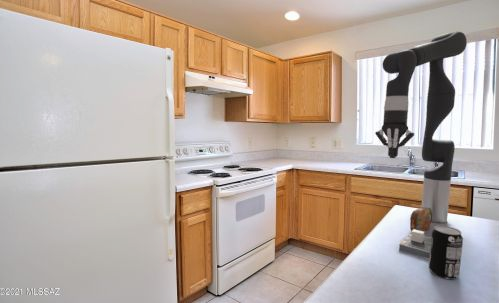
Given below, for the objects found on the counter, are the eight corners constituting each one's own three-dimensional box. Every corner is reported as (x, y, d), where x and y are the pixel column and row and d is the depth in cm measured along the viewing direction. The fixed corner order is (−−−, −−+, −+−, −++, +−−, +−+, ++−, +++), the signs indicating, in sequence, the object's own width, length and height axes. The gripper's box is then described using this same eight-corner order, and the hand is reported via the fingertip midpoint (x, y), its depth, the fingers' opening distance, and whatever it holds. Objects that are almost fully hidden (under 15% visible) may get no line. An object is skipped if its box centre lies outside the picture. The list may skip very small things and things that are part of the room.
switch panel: (409, 238, 95) (410, 232, 95) (452, 249, 87) (453, 242, 87) (398, 250, 86) (399, 243, 86) (445, 263, 78) (446, 256, 77)
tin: (417, 237, 96) (418, 213, 95) (407, 234, 99) (409, 211, 98) (432, 227, 106) (434, 206, 105) (422, 225, 108) (424, 204, 107)
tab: (413, 238, 90) (413, 229, 90) (423, 240, 88) (424, 231, 88) (411, 240, 88) (411, 231, 88) (421, 243, 86) (422, 233, 86)
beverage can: (430, 264, 77) (433, 223, 76) (459, 272, 73) (463, 229, 72) (427, 274, 72) (430, 229, 71) (458, 283, 68) (463, 236, 67)
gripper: (419, 109, 96) (415, 158, 98) (380, 110, 105) (377, 155, 107) (414, 108, 91) (410, 160, 93) (373, 109, 100) (370, 157, 102)
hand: (392, 157), depth 100 cm, fingers closed
